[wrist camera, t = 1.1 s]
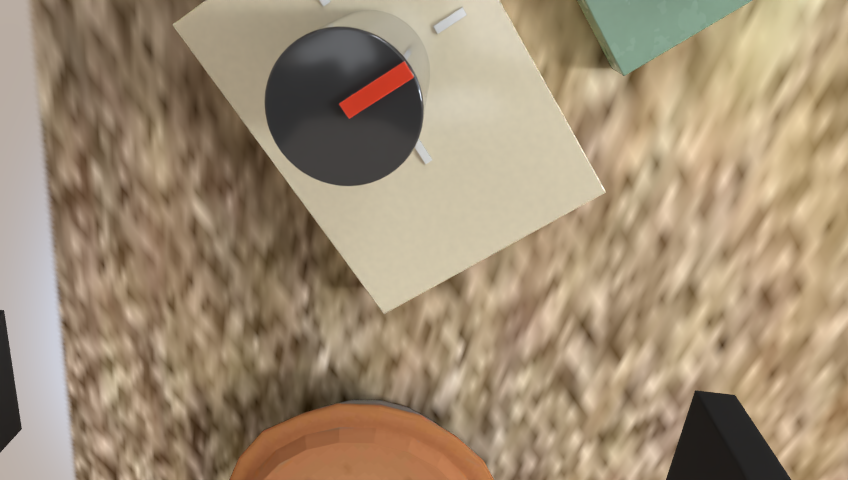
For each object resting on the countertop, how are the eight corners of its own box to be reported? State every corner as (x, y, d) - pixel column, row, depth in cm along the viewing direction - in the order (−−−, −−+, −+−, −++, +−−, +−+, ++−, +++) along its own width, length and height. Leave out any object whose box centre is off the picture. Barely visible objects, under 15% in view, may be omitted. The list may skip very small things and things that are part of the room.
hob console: (196, 19, 30) (170, 25, 28) (417, -142, 28) (414, -155, 25) (389, 287, 35) (383, 316, 32) (592, 173, 33) (607, 193, 30)
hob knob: (355, 151, 29) (323, 217, 22) (288, 52, 28) (228, 86, 20) (452, 91, 28) (454, 138, 21) (387, -16, 27) (363, -7, 19)
